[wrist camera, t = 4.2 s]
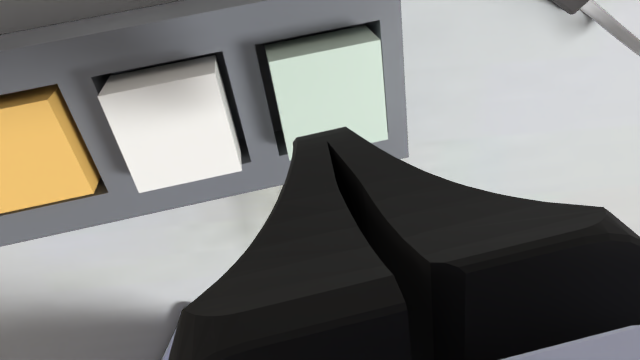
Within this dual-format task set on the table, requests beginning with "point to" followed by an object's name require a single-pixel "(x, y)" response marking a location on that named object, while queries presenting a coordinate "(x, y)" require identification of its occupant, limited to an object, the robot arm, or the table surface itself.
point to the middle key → (172, 123)
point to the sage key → (329, 84)
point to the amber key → (41, 151)
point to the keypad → (171, 47)
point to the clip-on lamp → (602, 20)
